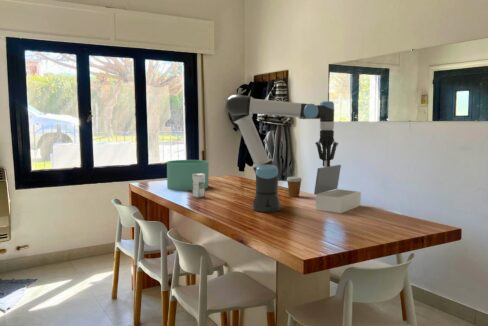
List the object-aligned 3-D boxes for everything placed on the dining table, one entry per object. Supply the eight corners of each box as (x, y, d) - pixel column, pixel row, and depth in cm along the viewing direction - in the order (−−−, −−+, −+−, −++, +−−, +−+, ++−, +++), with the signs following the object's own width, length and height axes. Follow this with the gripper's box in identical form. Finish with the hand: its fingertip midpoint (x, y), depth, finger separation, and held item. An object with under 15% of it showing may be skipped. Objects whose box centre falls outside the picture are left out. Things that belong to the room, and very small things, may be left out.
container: (164, 185, 306) (164, 160, 304) (203, 183, 315) (203, 159, 313) (170, 191, 278) (169, 163, 276) (212, 189, 287) (212, 163, 285)
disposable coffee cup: (301, 197, 255) (301, 178, 254) (285, 197, 257) (286, 178, 256) (301, 195, 264) (302, 176, 263) (287, 194, 266) (287, 176, 265)
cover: (319, 168, 216) (317, 168, 217) (316, 194, 218) (314, 193, 219) (340, 165, 236) (339, 164, 237) (337, 188, 239) (335, 188, 239)
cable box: (340, 213, 210) (340, 197, 210) (316, 209, 219) (316, 194, 218) (360, 205, 231) (360, 191, 230) (337, 202, 239) (337, 189, 239)
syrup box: (198, 195, 261) (198, 172, 259) (205, 196, 257) (205, 173, 256) (192, 196, 256) (191, 173, 255) (198, 197, 253) (198, 174, 251)
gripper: (340, 129, 225) (340, 172, 227) (319, 129, 233) (318, 171, 235) (334, 129, 219) (334, 173, 221) (313, 129, 227) (312, 172, 229)
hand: (326, 172), depth 228 cm, fingers closed
